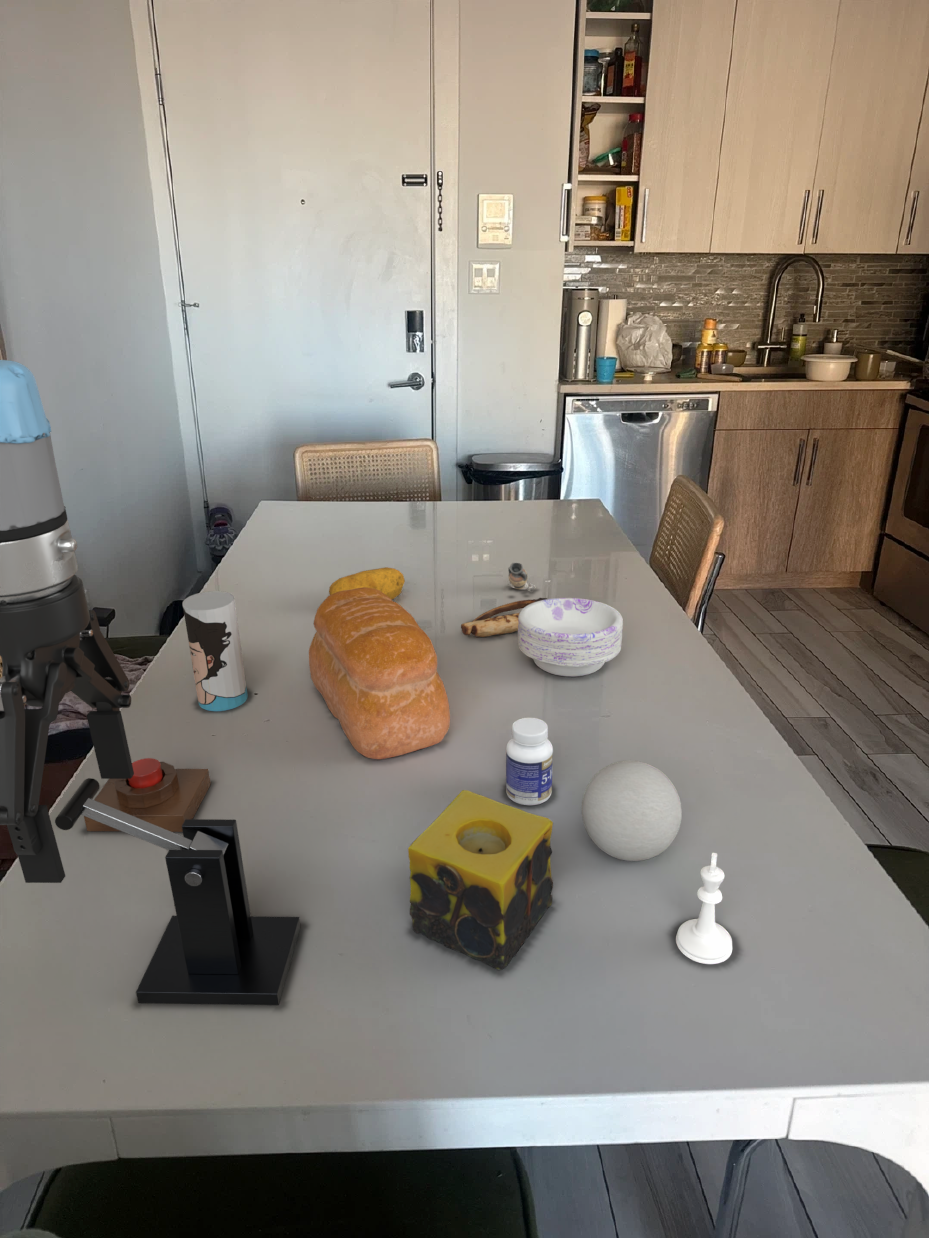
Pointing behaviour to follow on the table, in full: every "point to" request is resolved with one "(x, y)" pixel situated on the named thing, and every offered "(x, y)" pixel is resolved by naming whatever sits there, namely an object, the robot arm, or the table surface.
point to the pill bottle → (529, 762)
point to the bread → (378, 674)
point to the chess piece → (706, 923)
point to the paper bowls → (570, 635)
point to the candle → (481, 878)
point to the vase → (518, 577)
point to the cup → (215, 650)
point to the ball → (631, 810)
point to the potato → (372, 581)
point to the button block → (156, 798)
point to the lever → (128, 822)
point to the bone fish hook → (496, 620)
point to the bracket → (217, 931)
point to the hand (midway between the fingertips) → (84, 823)
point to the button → (146, 773)
